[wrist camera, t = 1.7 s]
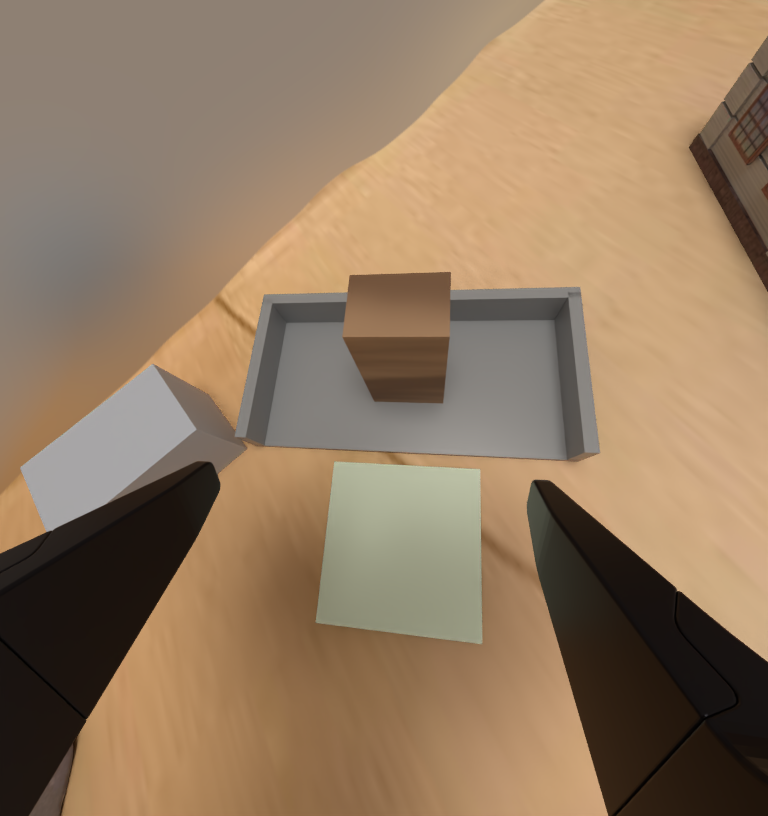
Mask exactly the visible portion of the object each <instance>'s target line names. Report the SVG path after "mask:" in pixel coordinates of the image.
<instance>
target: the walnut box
mask: <svg viewBox="0 0 768 816" xmlns="http://www.w3.org/2000/svg"><path fill="white" fill-rule="evenodd" d="M450 286H451V272H438V273H407V274H375V275H350V278H349V286H348V294H347V302H346V310H345V319H344V327H343V335H342V338H343V340H344V342H345V344H346V346H347V348H348V350H349V352H350V354H351V356H352V358H353V360H354V362H355V364H356V366H357V368H358V370H359V372H360V374H361V376H362V378H363V380H364V382H365V384H366V386H367V388H368V390H369V392H370V394H371V396H372V398H373V400H374V402H406V403H443V400H444V390H445V379H446V369H447V359H448V349H449V339H450Z"/></svg>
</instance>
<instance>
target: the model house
mask: <svg viewBox="0 0 768 816" xmlns="http://www.w3.org/2000/svg"><path fill="white" fill-rule="evenodd" d="M751 60H752V61H753V62H752V63H749V64H748V65H747V67H746V68H745V69H744V71H743V72H742V74H741V75H740V77H739V78H738V79H737V81H736V82H735V84H734V85H733V87H732V88H731V90H730V91H729V92H728V94H727V95H726V97H725V98H724V100H725V101H724V102H721V104H720V105H719V107H718V108H717V110H716V111H715V112H714V114H713V115H712V117H711V118H710V120H709V121H708V122H707V124H706V125H705V127H704V128H703V130H702V131H701V133H700V134H698V135H697V137H696V138H695V139H694V141H693V142H692V144H691V145H690V147H689V148H690V150H691V152H692V154H693V156H694V158H695V159H696V161H697V163H698V165H699V167H700V169H701V170H702V172H703V174H704V176H705V178H706V179H707V181H708V183H709V185H710V187H711V189H712V190H713V192H714V194H715V196H716V198H717V200H718V201H719V203H720V205H721V207H722V209H723V211H724V212H725V214H726V216H727V218H728V220H729V222H730V223H731V225H732V227H733V229H734V231H735V233H736V234H737V236H738V238H739V240H740V242H741V244H742V245H743V247H744V249H745V251H746V253H747V255H748V256H749V258H750V260H751V262H752V264H753V266H754V267H755V269H756V271H757V273H758V275H759V277H760V278H761V280H762V282H763V284H764V286H765V287H766V289H767V291H768V36H767V38H766V39H765V41H764V42H763V44H762V45H761V47H760V48H759V49H758V51H757V52H756V54H755V55H754V57H753V58H752V59H751Z"/></svg>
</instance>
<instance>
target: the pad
mask: <svg viewBox="0 0 768 816" xmlns="http://www.w3.org/2000/svg"><path fill="white" fill-rule="evenodd" d="M316 623H320V624H328V625H336V626H344V627H351V628H359V629H367V630H375V631H382V632H390V633H398V634H406V635H414V636H421V637H429V638H437V639H445V640H453V641H460V642H468V643H476V644H482V577H481V500H480V469H466V468H448V467H429V466H410V465H391V464H373V463H354V462H335V461H334V468H333V477H332V486H331V494H330V503H329V512H328V520H327V529H326V537H325V546H324V555H323V563H322V572H321V581H320V589H319V598H318V607H317V615H316Z"/></svg>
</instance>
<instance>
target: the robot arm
mask: <svg viewBox="0 0 768 816" xmlns="http://www.w3.org/2000/svg"><path fill="white" fill-rule="evenodd" d="M219 491H220V481H219V478H218V475H217V472H216V469H215V467H214V464H213V463H212V462H209V461H196V462H194V463H192V464H190V465H188V466H185V467H183V468H181V469H179V470H177V471H175V472H173V473H171V474H169V475H166V476H164V477H162V478H160V479H158V480H156V481H154V482H152V483H150V484H147V485H145V486H143V487H141V488H139V489H137V490H135V491H133V492H131V493H128V494H126V495H124V496H122V497H120V498H118V499H116V500H114V501H112V502H109V503H107V504H105V505H103V506H101V507H99V508H97V509H95V510H93V511H90V512H88V513H86V514H84V515H82V516H80V517H78V518H76V519H74V520H71V521H69V522H67V523H65V524H63V525H61V526H59V527H57V528H55V529H54V530H53V531H48V532H46V533H44V534H42V535H40V536H37V537H35V538H33V539H31V540H29V541H27V542H25V543H22V544H20V545H18V546H16V547H14V548H12V549H9V550H7V551H5V552H3V553H1V554H0V816H29V815H30V814H31V812H32V810H33V809H34V807H35V805H36V804H37V802H38V800H39V799H40V797H41V796H42V794H43V792H44V791H45V789H46V787H47V786H48V784H49V782H50V781H51V779H52V777H53V776H54V774H55V772H56V771H57V769H58V767H59V766H60V764H61V762H62V761H63V759H64V757H65V756H66V754H67V752H68V751H69V749H70V747H71V746H72V744H73V742H74V741H75V739H76V738H77V736H78V734H79V733H80V731H81V729H82V728H83V726H84V724H85V723H86V719H87V718H88V717H89V716H90V714H91V712H92V711H93V709H94V707H95V706H96V704H97V702H98V701H99V699H100V697H101V696H102V694H103V692H104V691H105V689H106V687H107V686H108V684H109V682H110V681H111V679H112V677H113V676H114V674H115V672H116V671H117V669H118V668H119V666H120V664H121V663H122V661H123V659H124V658H125V656H126V654H127V653H128V651H129V649H130V648H131V646H132V644H133V643H134V641H135V639H136V638H137V636H138V634H139V633H140V631H141V629H142V628H143V626H144V625H145V623H146V621H147V620H148V618H149V616H150V615H151V613H152V611H153V610H154V608H155V606H156V605H157V603H158V601H159V600H160V598H161V596H162V595H163V593H164V591H165V590H166V588H167V586H168V585H169V583H170V581H171V580H172V578H173V577H174V575H175V573H176V572H177V570H178V568H179V567H180V565H181V563H182V562H183V560H184V558H185V557H186V555H187V553H188V552H189V550H190V548H191V547H192V545H193V543H194V542H195V540H196V538H197V536H198V534H199V532H200V530H201V528H202V526H203V524H204V522H205V520H206V518H207V516H208V514H209V512H210V510H211V508H212V506H213V503H214V501H215V499H216V497H217V495H218V493H219ZM527 515H528V521H529V527H530V532H531V538H532V544H533V550H534V556H535V562H536V567H537V571H538V575H539V579H540V582H541V586H542V589H543V593H544V596H545V600H546V603H547V606H548V610H549V613H550V617H551V620H552V624H553V627H554V631H555V634H556V637H557V641H558V644H559V648H560V651H561V655H562V658H563V661H564V665H565V668H566V672H567V675H568V679H569V682H570V685H571V689H572V692H573V696H574V699H575V703H576V706H577V709H578V713H579V716H580V720H581V723H582V727H583V730H584V734H585V737H586V740H587V744H588V747H589V751H590V754H591V758H592V761H593V764H594V768H595V771H596V775H597V778H598V782H599V785H600V788H601V792H602V795H603V799H604V802H605V806H606V809H607V813H608V816H768V662H767V661H766V660H765V659H763V658H762V657H761V656H759V655H758V654H757V653H756V652H754V651H753V650H752V649H750V648H749V647H748V646H747V645H745V644H744V643H743V642H741V641H740V640H739V639H738V638H736V637H735V636H734V635H732V634H731V633H730V632H729V631H727V630H726V629H725V628H724V627H723V626H721V625H720V624H719V623H718V622H716V621H715V620H714V619H713V618H712V617H710V616H709V615H708V614H707V613H706V612H704V611H703V610H702V609H701V608H699V607H698V606H697V605H696V604H695V603H694V602H692V601H691V600H690V599H689V598H688V597H687V596H685V595H684V594H683V593H682V592H680V591H677V589H676V587H675V586H673V585H672V584H671V583H670V582H669V581H668V580H666V579H665V578H664V577H663V576H662V575H660V574H659V573H658V572H657V571H656V570H655V569H653V568H652V567H651V566H650V565H649V564H648V563H646V562H645V561H644V560H643V559H642V558H640V557H639V556H638V555H637V554H636V553H635V552H633V551H632V550H631V549H630V548H629V547H628V546H626V545H625V544H624V543H623V542H622V541H621V540H619V539H618V538H617V537H616V536H615V535H613V534H612V533H611V532H610V531H609V530H608V529H606V528H605V527H604V526H603V525H602V524H601V523H599V522H598V521H597V520H596V519H595V518H593V517H592V516H591V515H590V514H589V513H588V512H586V511H585V510H584V509H583V508H582V507H581V506H579V505H578V504H577V503H576V502H575V501H574V500H572V499H571V498H570V497H569V496H568V495H566V494H565V493H564V492H563V491H562V490H561V489H559V488H558V487H557V486H556V485H555V484H554V483H552V482H551V481H548V480H534V481H532V483H531V487H530V492H529V497H528V501H527Z"/></svg>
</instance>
